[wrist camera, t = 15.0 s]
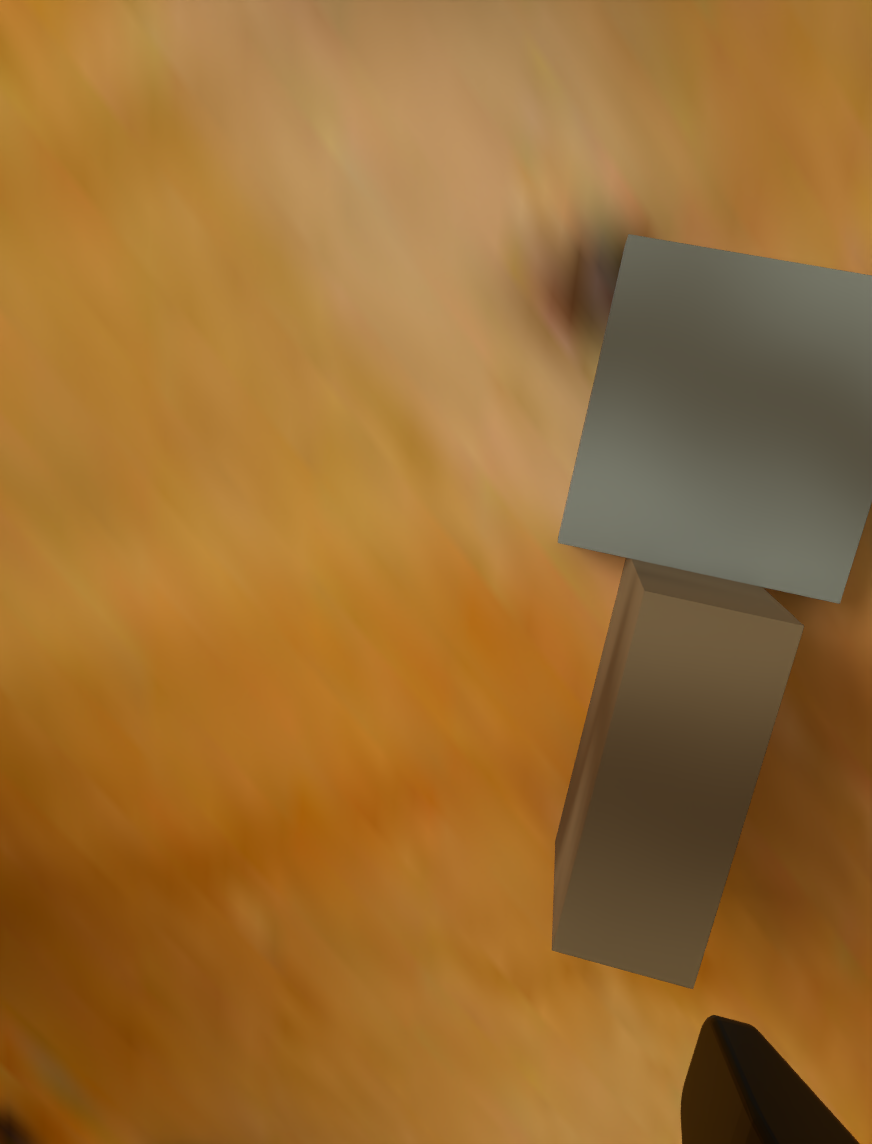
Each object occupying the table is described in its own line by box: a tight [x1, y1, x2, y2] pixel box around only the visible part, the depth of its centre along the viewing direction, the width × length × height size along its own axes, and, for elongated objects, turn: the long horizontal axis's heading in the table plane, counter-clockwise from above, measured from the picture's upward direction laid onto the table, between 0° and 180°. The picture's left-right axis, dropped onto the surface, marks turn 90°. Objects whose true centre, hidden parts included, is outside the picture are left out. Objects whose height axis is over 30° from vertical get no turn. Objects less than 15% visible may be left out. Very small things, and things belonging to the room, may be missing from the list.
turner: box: [552, 234, 872, 989], centre depth 15 cm, size 13×6×4 cm, turn 169°
